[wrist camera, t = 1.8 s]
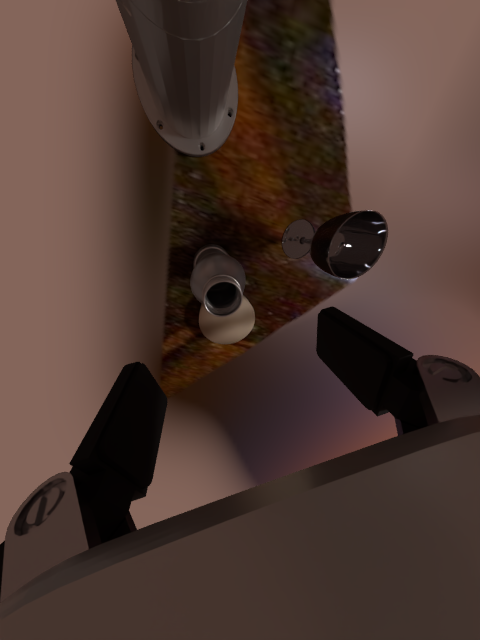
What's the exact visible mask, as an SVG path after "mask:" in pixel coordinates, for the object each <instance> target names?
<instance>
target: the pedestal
mask: <svg viewBox="0 0 480 640" xmlns="http://www.w3.org/2000/svg"><path fill="white" fill-rule="evenodd" d="M254 322H255V313H254V310H253V307H252V306H251V304H250V303H249V301H248V300H247V298H246V297H245V296H244V295H243V300H242V304H241V306H240V308H239V309H238V310H237V311H236V312H235V313H234V314H232V315H230V316H227V317H216V316H214V315H212V314H210V313H209V312H208V311H207V310H206V308H205V306H204V305H203V304H202V305H201V307H200V310H199V326H200V329H201V331H202V333H203V334H204V335H205V337H207V338H208V339H209V340H211V341H213V342H215V343H219V344H231V343H235V342H237V341H240V340H241V339H243V338H244V337H246V336H247V335H248V334H249V332H250V331H251V330H252V328H253V325H254Z"/></svg>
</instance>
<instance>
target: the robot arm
mask: <svg viewBox="0 0 480 640" xmlns="http://www.w3.org/2000/svg"><path fill="white" fill-rule="evenodd" d="M116 2H117V5H118V8H119V10H120V13H121V16H122V18H123V21H124V24H125V26H126V29H127V32H128V34H129V37H130V40H131V42H132V68H133V76H134V82H135V86H136V89H137V93H138V96H139V99H140V102H141V104H142V107H143V109H144V111H145V113H146V115H147V117H148V119H149V121H150V123H151V124H152V126H153V127H154V129H155V130H156V132H157V133H158V134H159V135H160V136H161V138H162V139H163V140H164V141H165V142H166V143H167V144H169V145H170V146H171V147H172V148H174V149H175V150H177V151H178V152H180V153H183V154H185V155H188V156H194V157H201V156H207V155H209V154H212V153H214V152H215V151H216V150H218V149H219V148H220V147H221V146H222V145H223V144H224V142H225V141H226V140H227V138H228V136H229V134H230V132H231V129H232V127H233V124H234V120H235V117H236V112H237V103H238V85H237V77H236V71H235V67H234V62H235V57H236V52H237V47H238V43H239V38H240V33H241V28H242V23H243V18H244V13H245V8H246V4H247V0H116ZM228 114H230V115H231V117H229V116H228ZM160 126H162V127H163V129H162V130H161V129H160V128H159V127H160ZM201 147H203V148H204V150H203V151H202V150H201V149H200V148H201ZM316 351H317V354H318V356H319V358H320V359H321V360H322V361H323V362H324V363H325V364H326V365H327V366H328V367H329V368H330V369H331V371H332V372H333V373H334V374H335V375H336V376H337V377H338V378H339V379H340V380H341V381H342V382H343V383H344V385H346V387H347V388H348V389H349V390H350V391H351V392H352V393H353V394H354V396H356V398H357V399H358V400H359V401H360V402H361V403H362V404H363V405H364V406H365V407H366V408H367V409H368V410H372V411H373V412H374V413H375V414H376V416H380V415H383V414H385V413H388V412H390V413H391V414H392V415H393V416H394V418H395V423H396V428H397V433H398V436H397V437H394V438H391V439H388V440H385V441H382V442H379V443H377V444H374V445H371V446H368V447H365V448H362V449H360V450H357V451H354V452H351V453H348V454H345V455H343V456H340V457H337V458H334V459H331V460H328V461H326V462H323V463H320V464H317V465H314V466H312V467H309V468H306V469H303V470H300V471H298V472H295V473H292V474H289V475H287V476H284V477H281V478H278V479H275V480H273V481H270V482H267V483H264V484H262V485H259V486H256V487H253V488H250V489H248V490H245V491H242V492H240V493H237V494H234V495H231V496H228V497H226V498H223V499H220V500H217V501H215V502H212V503H209V504H206V505H204V506H201V507H198V508H195V509H193V510H191V511H187V512H184V513H182V514H179V515H176V516H173V517H171V518H168V519H165V520H163V521H160V522H157V523H154V524H152V525H149V526H147V527H144V528H141V529H139V530H137V528H136V526H135V524H134V521H133V519H132V517H131V514H130V512H129V508H130V504H131V501H134V500H137V499H140V498H143V497H145V496H146V493H147V488H148V486H149V485H150V484H151V482H152V479H153V474H154V469H155V464H156V458H157V453H158V448H159V443H160V438H161V433H162V427H163V422H164V417H165V412H166V407H167V397H166V395H165V394H164V392H163V391H162V389H161V388H160V386H159V385H158V383H157V382H156V380H155V379H154V377H153V376H152V375H151V373H150V371H149V370H148V368H147V367H146V365H145V364H143V363H142V364H141V363H140V362H135V363H131V364H128V365H125V366H124V367H123V369H122V371H121V373H120V374H119V376H118V378H117V380H116V382H115V383H114V385H113V387H112V389H111V391H110V393H109V394H108V396H107V398H106V399H105V401H104V403H103V405H102V406H101V408H100V410H99V412H98V414H97V415H96V417H95V419H94V421H93V422H92V424H91V426H90V428H89V430H88V431H87V433H86V435H85V437H84V438H83V440H82V442H81V444H80V446H79V447H78V449H77V451H76V453H75V455H74V456H73V458H72V460H71V462H70V465H72V466H73V467H72V469H71V471H70V473H68V472H62V473H58V474H56V475H55V476H52V477H51V478H49V479H48V480H47V481H45V482H44V483H42V484H41V485H40V486H39V487H38V488H37V489H35V490H34V491H33V493H31V494H30V495H29V497H28V498H27V499H26V500H25V501H24V502H23V503H22V505H21V506H20V507H19V509H18V510H17V512H16V513H15V515H14V516H13V518H12V520H11V522H10V524H9V526H8V528H7V532H6V536H5V541H4V542H3V543H1V544H0V640H480V377H479V376H478V374H477V373H476V372H475V371H474V370H473V369H471V368H470V367H468V366H467V365H465V364H463V363H461V362H459V361H457V360H453V359H451V358H448V357H443V356H438V355H425V356H422V357H419V358H418V360H417V361H416V360H414V359H413V358H412V356H413V353H412V352H410V351H408V350H406V349H405V348H403V347H401V346H400V345H398V344H396V343H395V342H393V341H391V340H389V339H388V338H386V337H384V336H383V335H381V334H379V333H378V332H376V331H374V330H372V329H371V328H369V327H367V326H365V325H364V324H362V323H360V322H359V321H357V320H355V319H354V318H352V317H350V316H349V315H347V314H345V313H343V312H342V311H340V310H338V309H337V308H335V307H329V308H326V309H322V310H321V311H320V313H319V314H318V327H317V348H316Z"/></svg>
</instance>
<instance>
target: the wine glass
mask: <svg viewBox="0 0 480 640" xmlns="http://www.w3.org/2000/svg"><path fill="white" fill-rule="evenodd" d="M387 237H388V227H387V223H386V220H385V218H384V217H383V216H382V215H381V214H380V213H379V212H376V211H371V210H366V211H356V212H350V213H346V214H342V215H339V216H336V217H334V218H332V219H330V220H328V221H326V222H325V223H324V224H322V225H321V226H320V227H319V228H318V229H317V230H316V232H315V230H314V227H313V226H312V224H311V223H310V222H309V221H307V220H302V219H301V220H296V221H294V222H293V223H291V224H290V225H289V226H288V227H287V229H286V230H285V232H284V235H283V238H282V247H283V251H284V252H285V254H286V255H287V256H288V257H290V258H293V259H298V258H301V257H303V256H305V255H306V254H307V253H308V252H309V251H310V255H311V258H312V260H313V261H314V263H315V264H316V265H317V266H318V267H319V268H320V269H322V270H323V271H325V272H327V273H328V274H331V275H333V276H335V277H338V278H342V279H354V278H357V277H359V276H361V275H363V274H364V273H366V272H367V271H368V270H370V269H371V268H372V267H373V266H374V264H375V263H376V262H377V261H378V259H379V258H380V256H381V254H382V253H383V250H384V248H385V246H386V242H387Z"/></svg>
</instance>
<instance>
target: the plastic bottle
mask: <svg viewBox="0 0 480 640" xmlns="http://www.w3.org/2000/svg"><path fill="white" fill-rule="evenodd" d="M193 267H194V269H193V271H192V274H191V279H190V284H191V289H192V292H193V294H194V296H195V297H196V299H197V300H198V301H199V302H200V303H202V304H203V305H204V306H205V308H206V310H207V311H208V312H209V313H210V314H212V315H214V316H216V317H227V316H230V315H232V314H234V313H235V312H236V311H237V310H238V309H239V308H240V306H241V304H242V300H243V295H242V293H243V291H244V287H245V273H244V270H243V268H242V266H241V265H240V263H239V262H238V261H237V260H236V259H234V258H233V257H231V256H229V255H228V253H227V252H226V250H224V249H223V248H222V247H221V246H218V245H215V244H208V245H205V246H203V247H201V248H200V249H199V250H198V251H197V252H196V254H195V256H194V259H193Z"/></svg>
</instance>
